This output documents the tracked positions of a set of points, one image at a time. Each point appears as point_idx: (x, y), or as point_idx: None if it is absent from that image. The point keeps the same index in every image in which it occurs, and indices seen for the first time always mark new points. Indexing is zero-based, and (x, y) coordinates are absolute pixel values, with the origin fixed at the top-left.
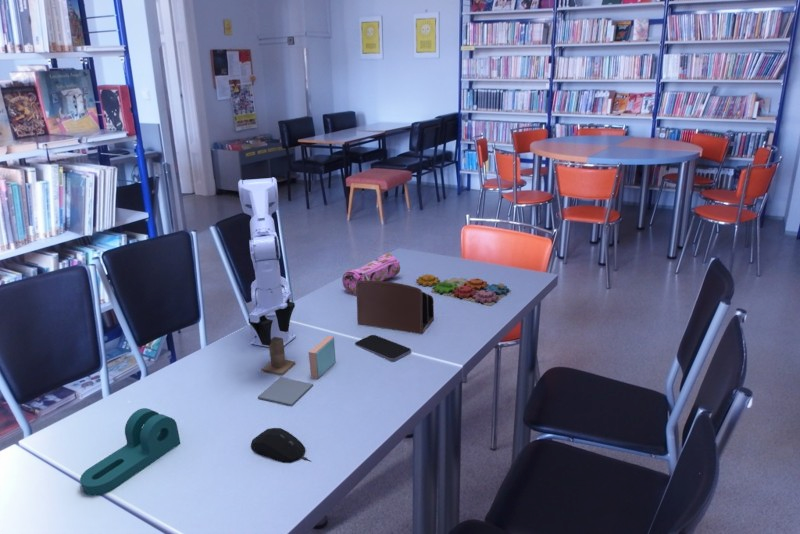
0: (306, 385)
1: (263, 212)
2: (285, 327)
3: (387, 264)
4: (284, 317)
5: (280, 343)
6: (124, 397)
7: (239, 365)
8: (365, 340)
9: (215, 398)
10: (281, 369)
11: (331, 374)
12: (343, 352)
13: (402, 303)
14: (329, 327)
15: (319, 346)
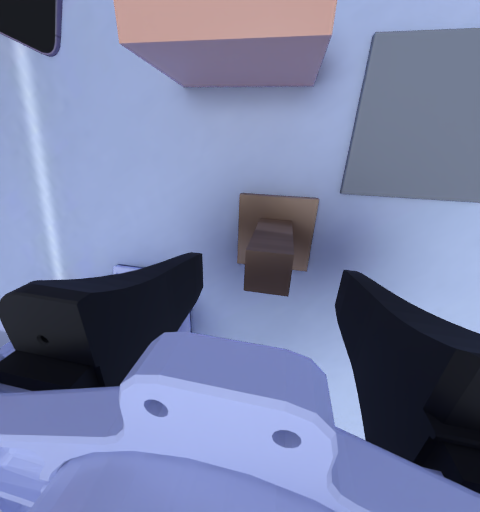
0: (391, 55)
1: None
2: (193, 268)
3: None
4: (162, 301)
5: (269, 246)
6: None
7: (288, 330)
8: (16, 17)
9: (470, 317)
10: (296, 213)
11: None
12: (118, 65)
13: None
14: (31, 203)
15: (248, 2)
